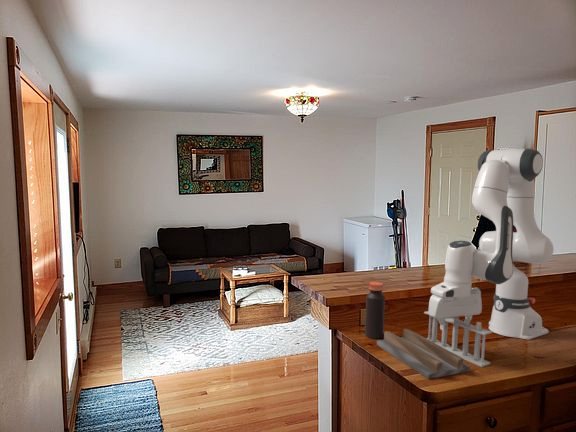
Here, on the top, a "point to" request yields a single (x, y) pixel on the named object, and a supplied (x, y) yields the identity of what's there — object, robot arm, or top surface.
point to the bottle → (375, 311)
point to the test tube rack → (467, 327)
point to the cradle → (422, 354)
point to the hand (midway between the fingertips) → (454, 328)
